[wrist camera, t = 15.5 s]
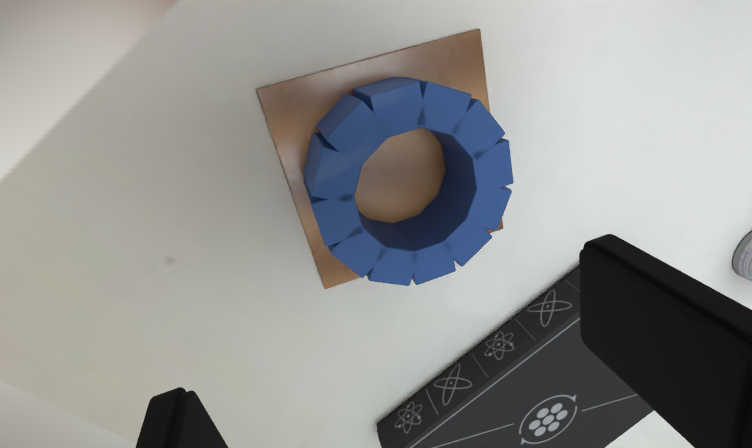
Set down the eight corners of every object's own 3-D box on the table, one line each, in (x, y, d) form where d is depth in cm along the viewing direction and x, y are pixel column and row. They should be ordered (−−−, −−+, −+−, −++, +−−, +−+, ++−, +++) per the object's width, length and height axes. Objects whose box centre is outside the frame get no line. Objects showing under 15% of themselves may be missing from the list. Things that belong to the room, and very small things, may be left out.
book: (607, 239, 30) (640, 258, 27) (666, 353, 36) (698, 377, 34) (372, 423, 31) (382, 459, 28) (470, 502, 38) (486, 537, 35)
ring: (279, 109, 21) (282, 121, 17) (461, 56, 22) (499, 57, 19) (335, 274, 25) (347, 311, 22) (486, 221, 26) (521, 248, 23)
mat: (255, 88, 21) (255, 89, 20) (476, 28, 22) (480, 28, 22) (323, 286, 26) (324, 289, 25) (500, 226, 27) (503, 228, 27)
